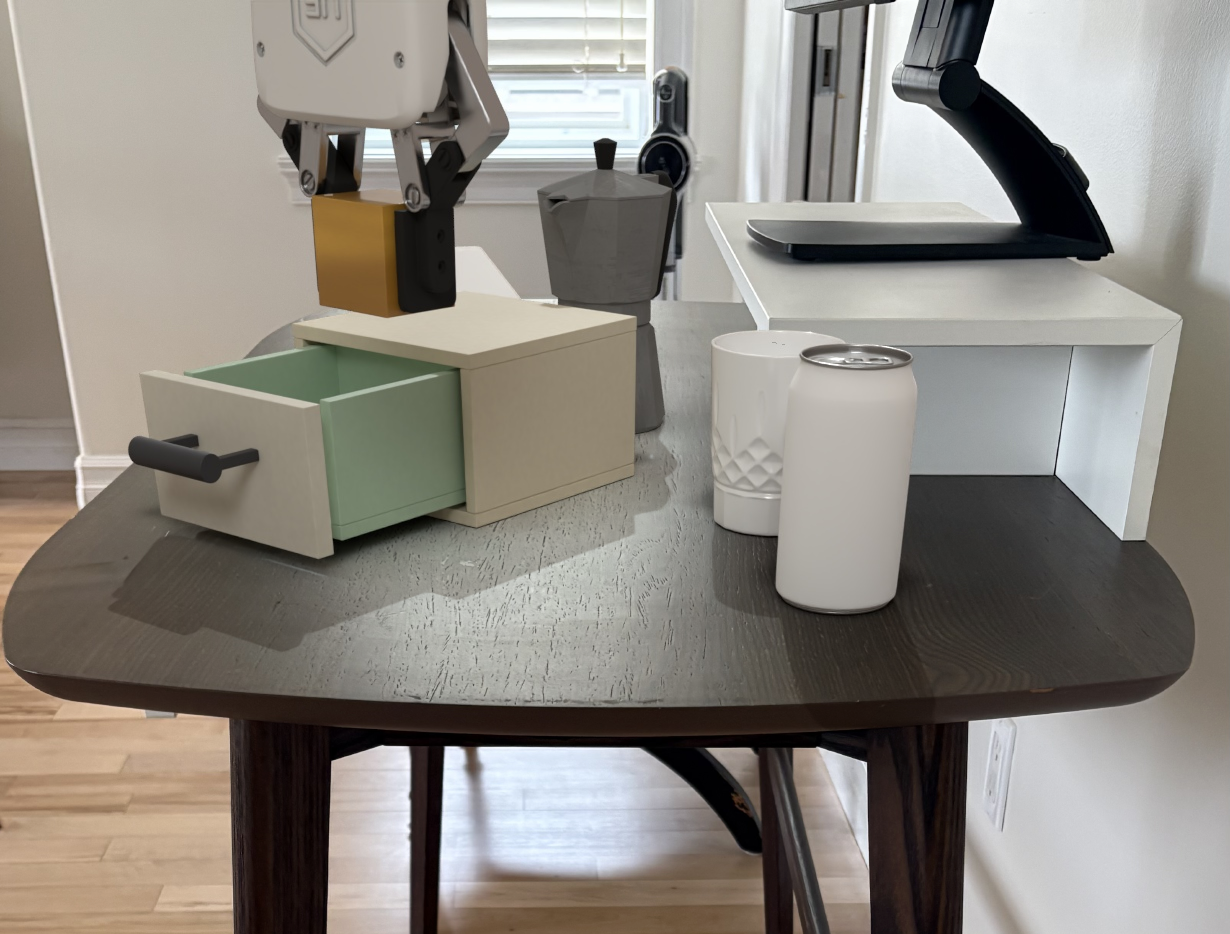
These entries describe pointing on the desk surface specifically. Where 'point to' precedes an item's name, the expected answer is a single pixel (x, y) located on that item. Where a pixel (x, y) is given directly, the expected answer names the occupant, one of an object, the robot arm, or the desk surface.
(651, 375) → the coffeepot
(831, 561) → the can
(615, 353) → the cabinet
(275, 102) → the robot arm
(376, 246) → the block
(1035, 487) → the desk surface
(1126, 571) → the desk surface
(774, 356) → the white cup
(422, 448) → the drawer
